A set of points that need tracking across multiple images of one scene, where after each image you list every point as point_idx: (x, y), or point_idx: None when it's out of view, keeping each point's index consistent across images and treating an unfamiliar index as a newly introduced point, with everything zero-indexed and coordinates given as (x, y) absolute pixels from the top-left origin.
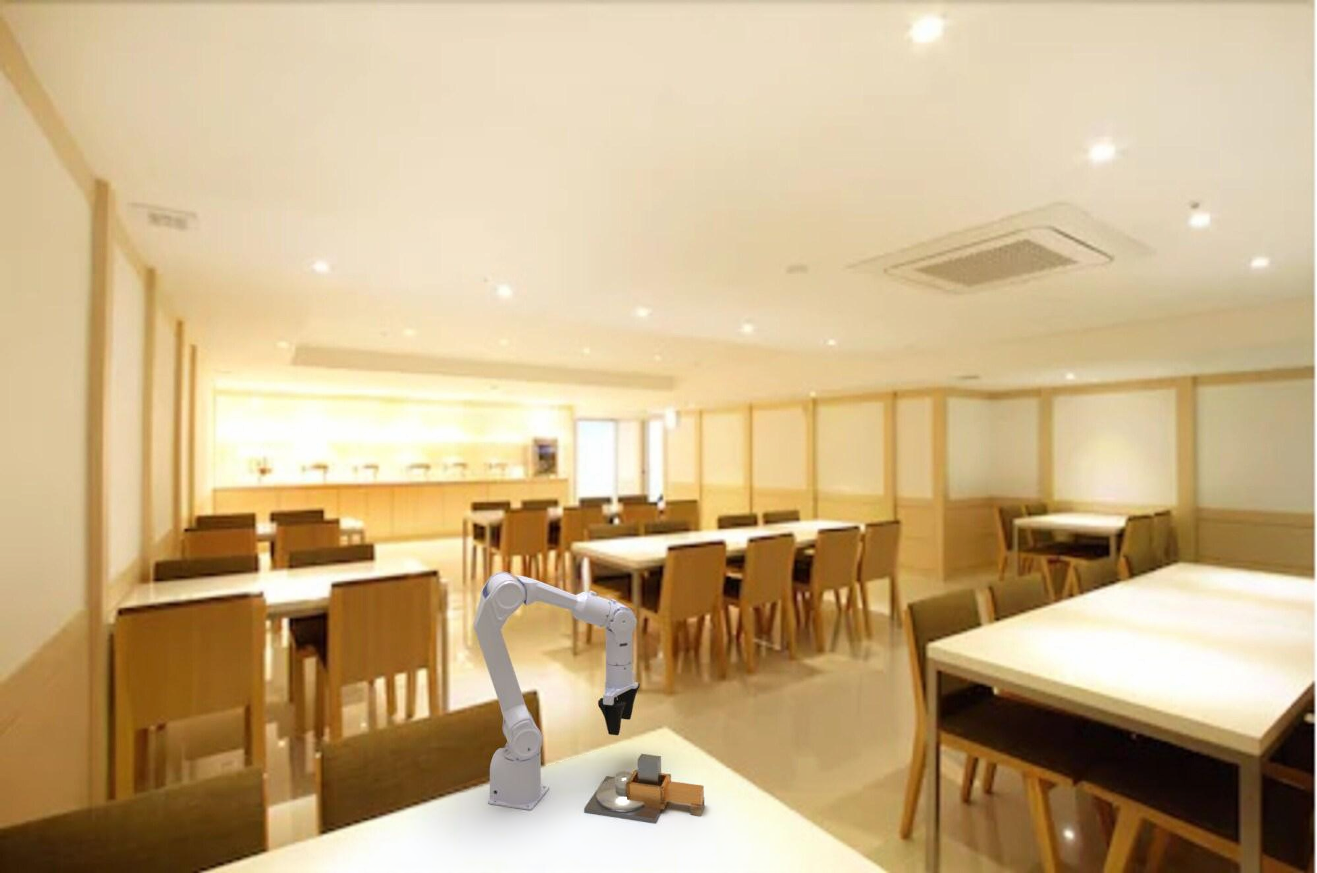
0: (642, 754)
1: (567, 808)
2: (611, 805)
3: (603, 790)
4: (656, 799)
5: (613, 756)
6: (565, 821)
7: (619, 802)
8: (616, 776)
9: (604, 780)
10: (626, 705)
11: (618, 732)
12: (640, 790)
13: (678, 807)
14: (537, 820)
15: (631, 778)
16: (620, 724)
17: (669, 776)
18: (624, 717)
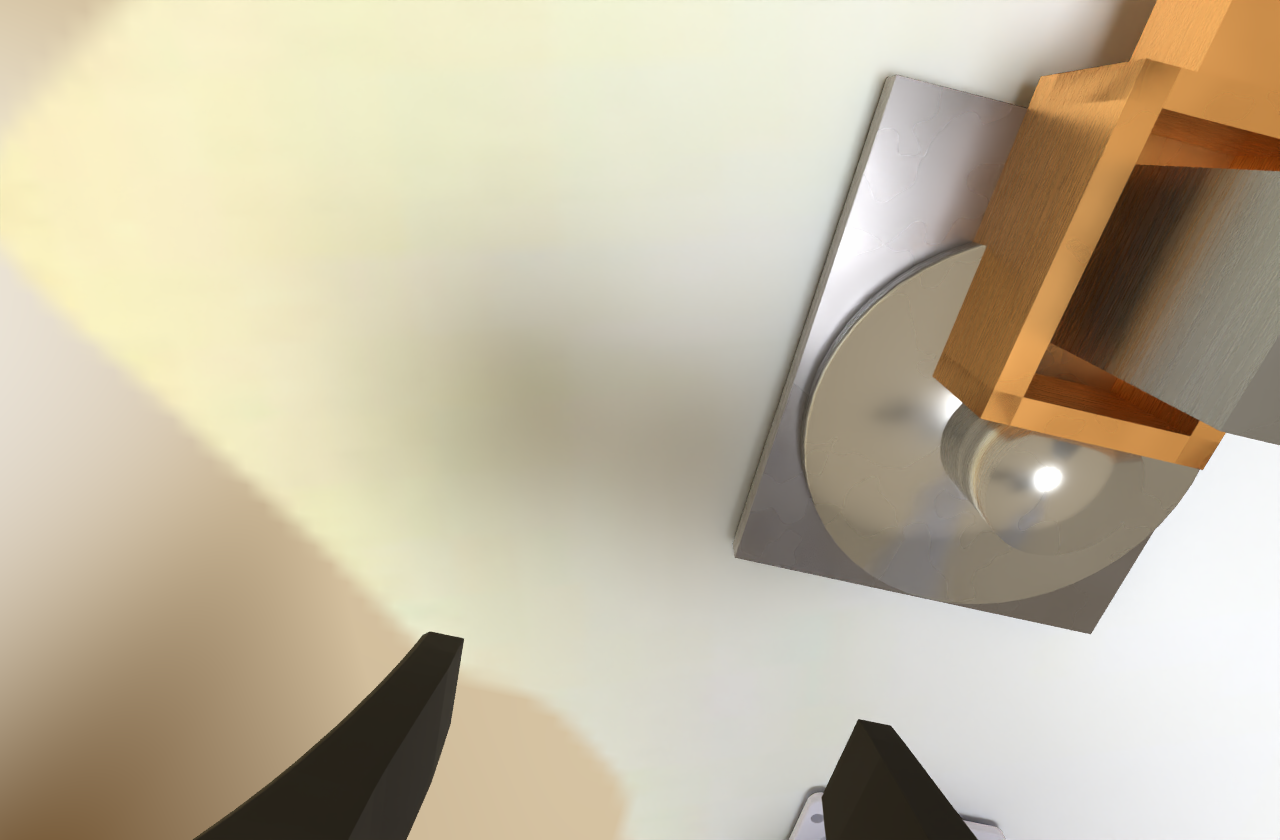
0: (1238, 415)
1: (1004, 691)
2: (1170, 506)
3: (974, 567)
4: None
5: (421, 528)
6: (1125, 685)
7: (1145, 461)
8: (1054, 546)
9: (790, 562)
10: (381, 824)
11: (908, 748)
12: None
13: (1149, 12)
14: (1083, 790)
15: (1126, 435)
16: (919, 811)
17: (1190, 73)
18: (451, 705)
